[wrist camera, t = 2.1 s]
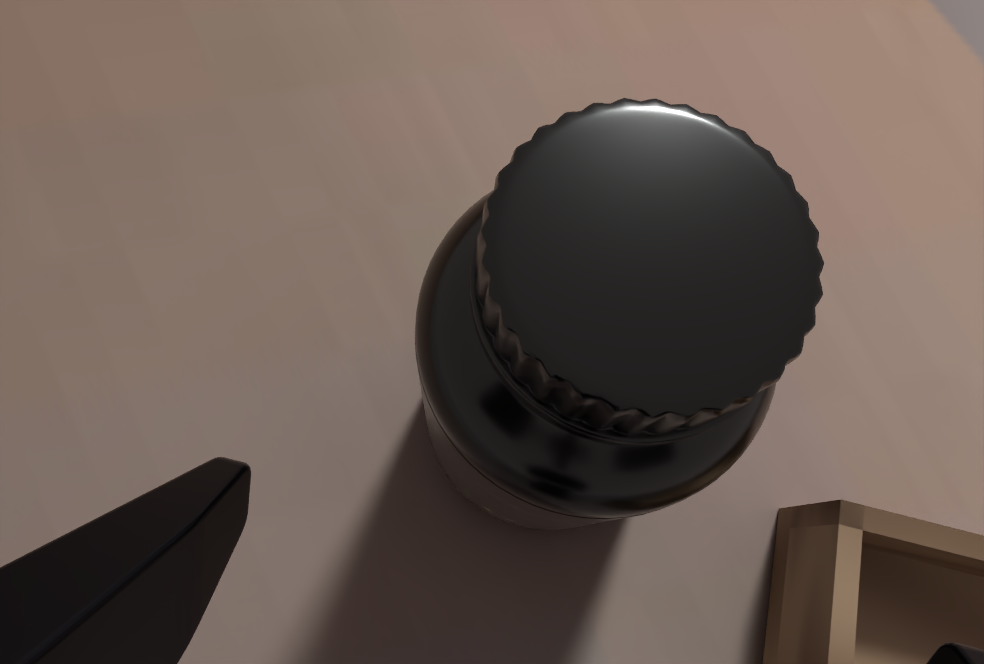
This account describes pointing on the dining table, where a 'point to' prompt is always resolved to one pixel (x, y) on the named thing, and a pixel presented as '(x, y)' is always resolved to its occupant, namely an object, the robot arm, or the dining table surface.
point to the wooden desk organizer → (870, 587)
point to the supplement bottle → (614, 315)
